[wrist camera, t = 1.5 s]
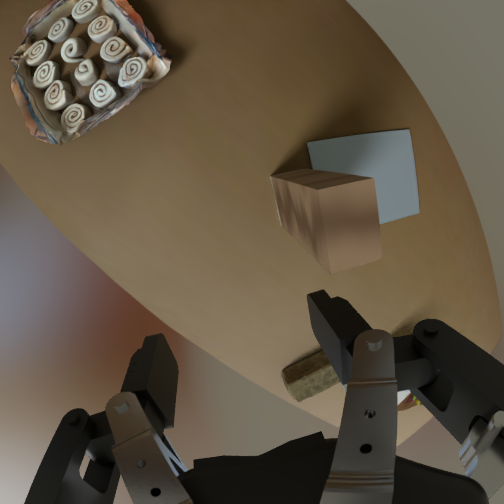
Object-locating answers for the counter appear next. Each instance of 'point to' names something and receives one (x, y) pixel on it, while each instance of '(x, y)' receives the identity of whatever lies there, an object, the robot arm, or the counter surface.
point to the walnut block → (330, 216)
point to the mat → (375, 167)
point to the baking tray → (82, 67)
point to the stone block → (309, 376)
